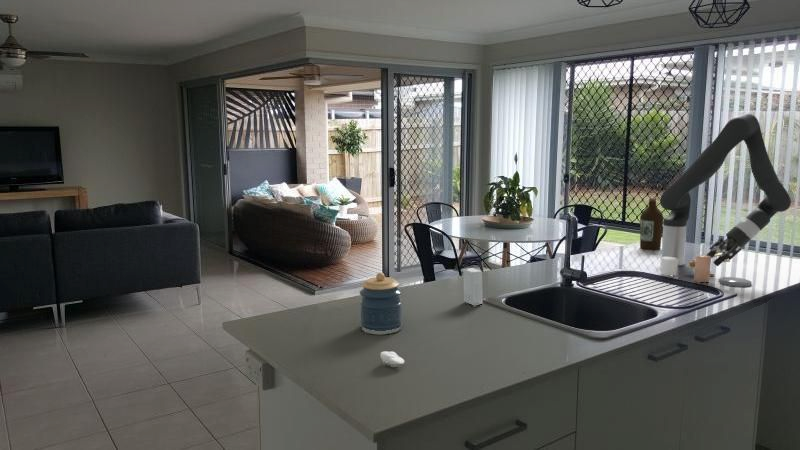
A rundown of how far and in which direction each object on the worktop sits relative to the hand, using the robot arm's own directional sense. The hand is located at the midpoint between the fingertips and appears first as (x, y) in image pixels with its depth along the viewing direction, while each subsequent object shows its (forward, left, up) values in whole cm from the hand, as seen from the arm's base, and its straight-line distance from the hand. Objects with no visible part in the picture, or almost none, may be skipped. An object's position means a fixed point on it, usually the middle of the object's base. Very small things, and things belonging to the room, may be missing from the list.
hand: (710, 262), depth 230 cm
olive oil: (-66, -10, -8) cm, 67 cm away
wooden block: (0, -3, -8) cm, 8 cm away
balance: (-11, +2, -8) cm, 14 cm away
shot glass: (-10, -13, -8) cm, 18 cm away
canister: (+76, -113, -8) cm, 136 cm away
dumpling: (+104, -103, -8) cm, 147 cm away
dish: (+1, +9, -8) cm, 12 cm away
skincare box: (+45, -88, -8) cm, 99 cm away
